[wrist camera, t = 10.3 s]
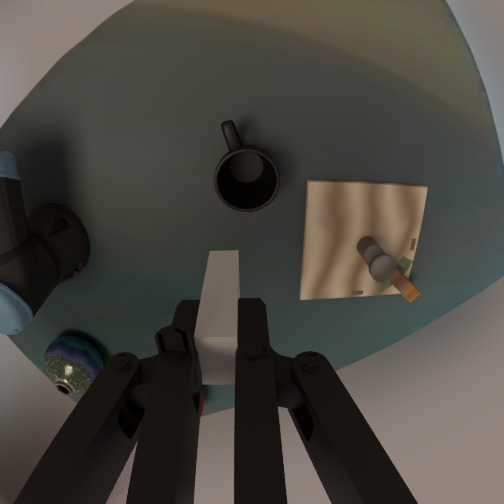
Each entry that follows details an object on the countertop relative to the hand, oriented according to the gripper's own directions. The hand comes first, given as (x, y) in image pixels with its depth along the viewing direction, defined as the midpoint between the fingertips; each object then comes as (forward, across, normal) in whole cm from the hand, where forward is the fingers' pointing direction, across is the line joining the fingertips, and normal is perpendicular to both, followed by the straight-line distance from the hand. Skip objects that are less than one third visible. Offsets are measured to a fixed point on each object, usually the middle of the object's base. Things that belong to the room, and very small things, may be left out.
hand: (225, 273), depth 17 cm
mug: (+33, +1, +1) cm, 33 cm away
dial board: (+32, +22, -14) cm, 42 cm away
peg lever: (+31, +26, -17) cm, 44 cm away
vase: (+33, -39, -41) cm, 65 cm away
